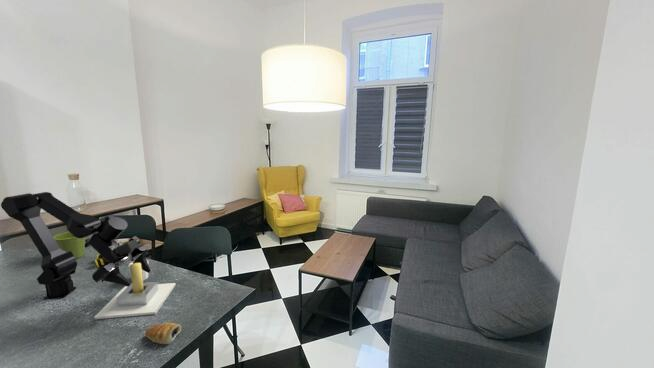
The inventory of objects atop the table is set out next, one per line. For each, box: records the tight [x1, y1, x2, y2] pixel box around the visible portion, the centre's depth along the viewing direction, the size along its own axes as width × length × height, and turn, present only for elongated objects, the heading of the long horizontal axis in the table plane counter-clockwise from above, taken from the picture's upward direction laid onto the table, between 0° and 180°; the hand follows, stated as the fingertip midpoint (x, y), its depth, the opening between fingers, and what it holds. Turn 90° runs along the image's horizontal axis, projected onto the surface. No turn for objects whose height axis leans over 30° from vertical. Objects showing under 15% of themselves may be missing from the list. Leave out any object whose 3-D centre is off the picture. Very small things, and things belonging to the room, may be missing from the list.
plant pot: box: [53, 231, 86, 259], centre depth 126 cm, size 12×12×11 cm
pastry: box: [145, 322, 182, 345], centre depth 80 cm, size 9×7×4 cm
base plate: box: [93, 282, 176, 320], centre depth 96 cm, size 18×18×1 cm
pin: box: [129, 263, 144, 293], centre depth 95 cm, size 3×3×13 cm
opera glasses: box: [94, 254, 108, 268], centre depth 122 cm, size 10×5×5 cm, turn 34°
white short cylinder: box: [127, 259, 150, 282], centre depth 110 cm, size 7×7×7 cm
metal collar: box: [117, 281, 159, 307], centre depth 96 cm, size 9×9×4 cm
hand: (140, 278), depth 95 cm, fingers open, 9 cm apart
